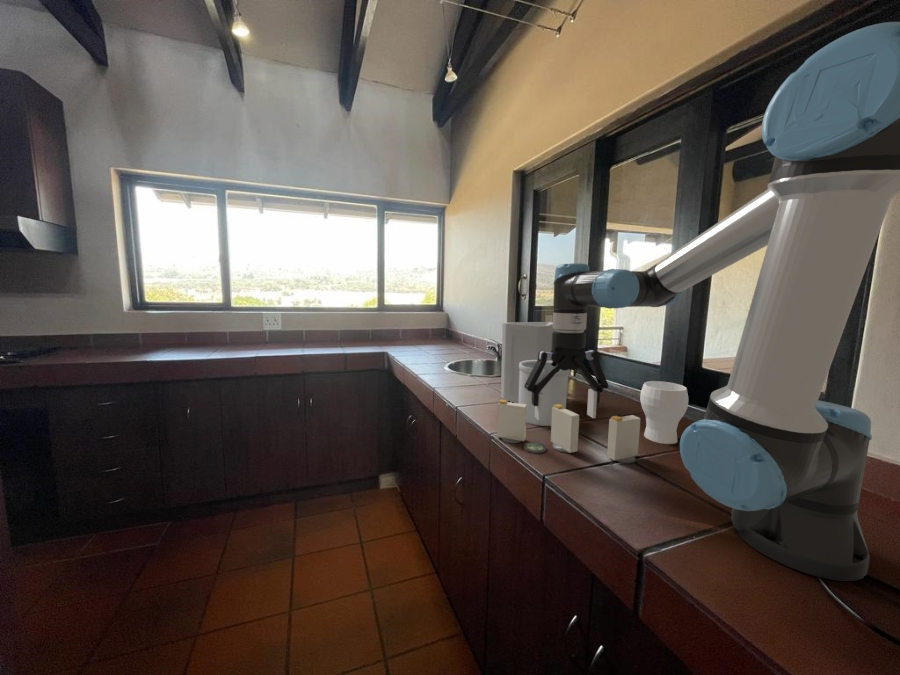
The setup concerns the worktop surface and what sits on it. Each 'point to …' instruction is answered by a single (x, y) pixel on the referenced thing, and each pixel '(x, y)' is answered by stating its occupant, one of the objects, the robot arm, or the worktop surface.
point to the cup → (663, 410)
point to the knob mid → (564, 429)
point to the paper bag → (521, 351)
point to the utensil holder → (543, 392)
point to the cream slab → (511, 421)
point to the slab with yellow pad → (623, 438)
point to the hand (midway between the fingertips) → (564, 417)
